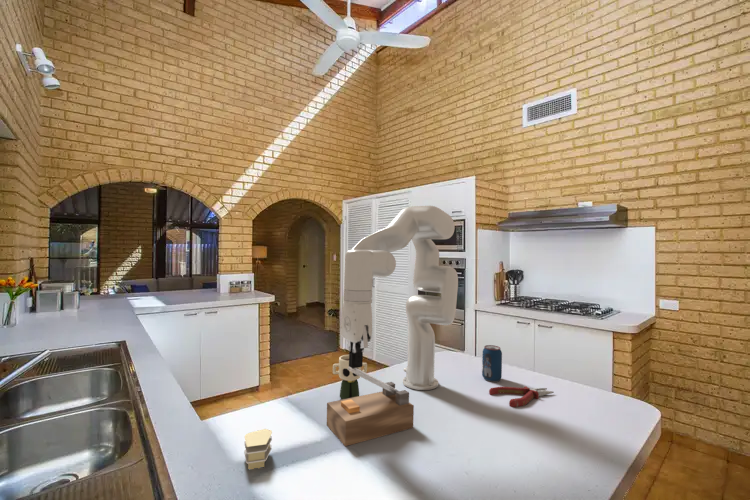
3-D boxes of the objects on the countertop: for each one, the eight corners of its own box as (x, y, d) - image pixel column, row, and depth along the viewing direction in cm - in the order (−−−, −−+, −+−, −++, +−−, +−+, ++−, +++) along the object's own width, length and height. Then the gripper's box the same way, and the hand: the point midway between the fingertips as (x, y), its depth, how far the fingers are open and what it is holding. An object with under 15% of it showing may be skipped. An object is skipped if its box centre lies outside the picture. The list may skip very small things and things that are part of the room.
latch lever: (346, 368, 97) (349, 364, 97) (391, 391, 104) (393, 387, 104) (354, 373, 93) (356, 369, 93) (400, 397, 100) (402, 393, 100)
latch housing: (326, 424, 98) (327, 391, 98) (389, 410, 108) (390, 379, 108) (345, 446, 87) (346, 408, 87) (413, 427, 97) (413, 394, 97)
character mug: (332, 404, 111) (333, 361, 111) (331, 394, 118) (332, 355, 118) (368, 402, 113) (368, 360, 113) (364, 393, 120) (365, 354, 120)
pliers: (564, 401, 118) (564, 392, 118) (512, 409, 111) (512, 400, 111) (536, 387, 129) (536, 380, 129) (487, 395, 122) (487, 386, 122)
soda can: (500, 377, 138) (501, 345, 138) (502, 383, 132) (503, 350, 132) (481, 375, 140) (482, 344, 140) (482, 381, 133) (483, 348, 133)
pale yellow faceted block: (279, 471, 78) (280, 446, 78) (235, 479, 75) (235, 452, 75) (277, 447, 87) (277, 424, 87) (237, 452, 84) (238, 429, 84)
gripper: (333, 294, 100) (331, 360, 100) (357, 300, 87) (355, 377, 87) (358, 293, 104) (355, 358, 103) (384, 299, 91) (382, 373, 90)
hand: (355, 366), depth 95 cm, fingers closed
